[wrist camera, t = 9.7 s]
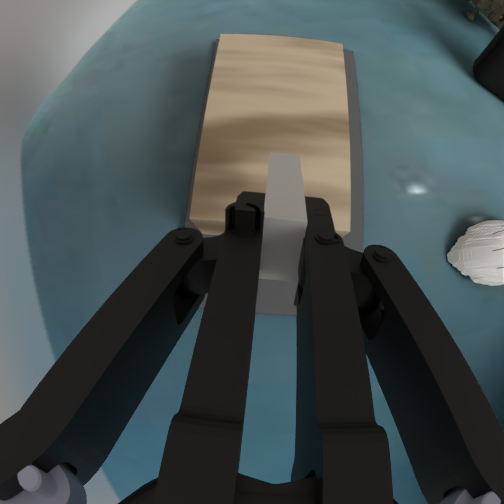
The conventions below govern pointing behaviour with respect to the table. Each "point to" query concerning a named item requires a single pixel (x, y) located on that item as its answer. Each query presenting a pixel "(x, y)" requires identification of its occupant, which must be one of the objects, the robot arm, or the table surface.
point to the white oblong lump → (481, 253)
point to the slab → (273, 124)
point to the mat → (283, 292)
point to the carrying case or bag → (492, 64)
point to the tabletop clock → (488, 10)
